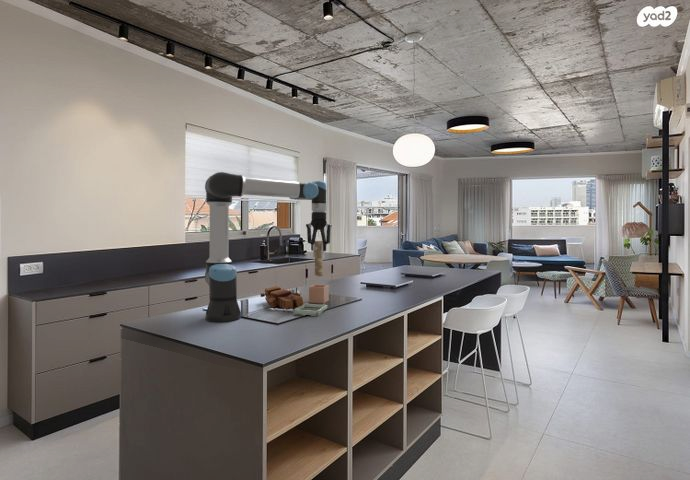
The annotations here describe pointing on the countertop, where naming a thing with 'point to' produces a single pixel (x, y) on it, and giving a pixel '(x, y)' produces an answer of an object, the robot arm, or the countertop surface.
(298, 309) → the tray
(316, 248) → the cream tall column
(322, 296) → the pink cube
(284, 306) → the brown chunky pile
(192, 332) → the countertop surface
